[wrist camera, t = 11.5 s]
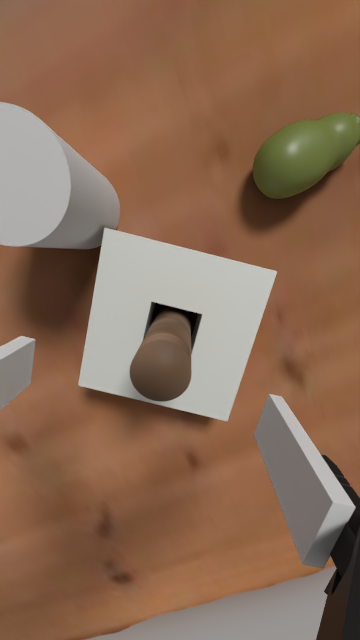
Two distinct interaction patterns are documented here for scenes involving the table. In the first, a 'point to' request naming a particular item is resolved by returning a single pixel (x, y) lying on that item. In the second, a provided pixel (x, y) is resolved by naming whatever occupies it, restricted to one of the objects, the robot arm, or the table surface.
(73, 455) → the table surface
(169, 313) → the walnut dowel
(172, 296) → the socket block
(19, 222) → the grey cylinder peg
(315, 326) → the table surface
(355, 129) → the pear
